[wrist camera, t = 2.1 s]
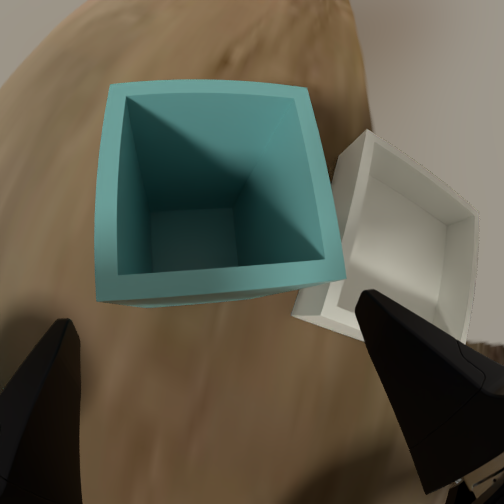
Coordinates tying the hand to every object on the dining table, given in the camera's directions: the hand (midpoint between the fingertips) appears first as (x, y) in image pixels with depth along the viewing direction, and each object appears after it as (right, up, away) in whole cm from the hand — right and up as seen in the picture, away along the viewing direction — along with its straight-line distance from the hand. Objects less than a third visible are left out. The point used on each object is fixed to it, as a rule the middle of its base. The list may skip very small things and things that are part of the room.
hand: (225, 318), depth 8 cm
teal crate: (-3, +2, +11) cm, 11 cm away
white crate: (+12, +1, +14) cm, 19 cm away
